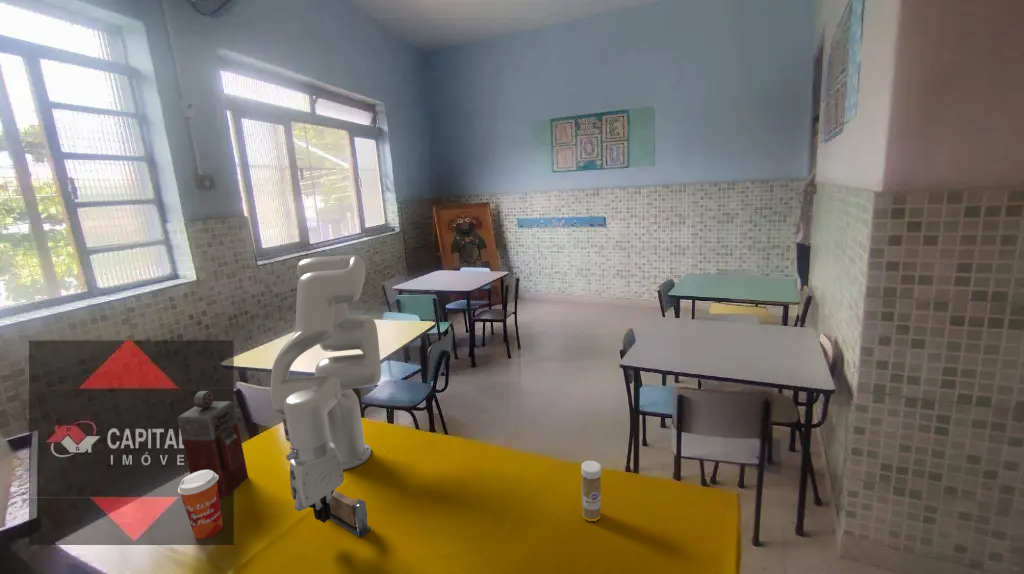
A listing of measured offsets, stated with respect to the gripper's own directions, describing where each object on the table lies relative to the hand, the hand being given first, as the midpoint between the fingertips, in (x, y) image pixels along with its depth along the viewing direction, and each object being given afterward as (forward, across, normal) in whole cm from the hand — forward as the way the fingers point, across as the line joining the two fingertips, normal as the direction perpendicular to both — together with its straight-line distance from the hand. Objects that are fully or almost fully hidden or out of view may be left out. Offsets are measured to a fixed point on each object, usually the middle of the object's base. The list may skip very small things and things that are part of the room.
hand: (323, 518), depth 101 cm
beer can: (+8, +21, +49) cm, 54 cm away
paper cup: (+6, -13, +27) cm, 31 cm away
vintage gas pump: (+7, -3, +41) cm, 42 cm away
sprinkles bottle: (+6, +38, -48) cm, 61 cm away
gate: (+5, +6, +2) cm, 8 cm away
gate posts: (+6, +6, +2) cm, 9 cm away
